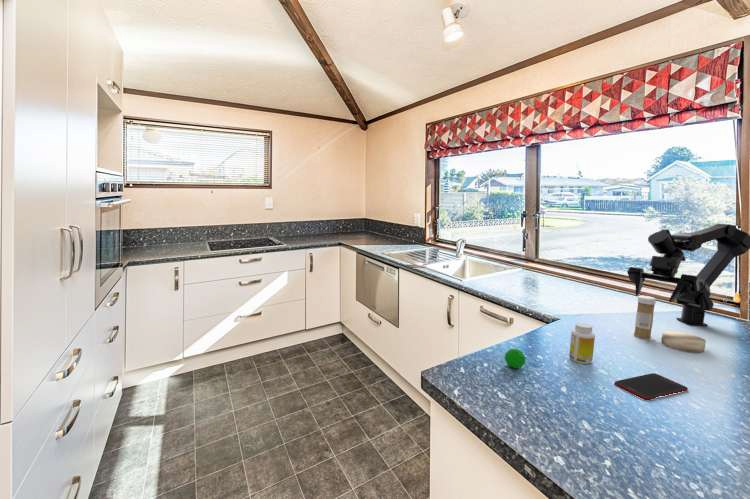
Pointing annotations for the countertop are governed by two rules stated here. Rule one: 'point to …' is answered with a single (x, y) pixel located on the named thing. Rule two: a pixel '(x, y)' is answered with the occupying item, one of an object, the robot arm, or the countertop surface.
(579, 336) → the supplement bottle
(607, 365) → the countertop surface
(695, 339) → the round beige base
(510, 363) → the green ball
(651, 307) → the sprinkles bottle
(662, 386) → the cell phone
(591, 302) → the countertop surface
